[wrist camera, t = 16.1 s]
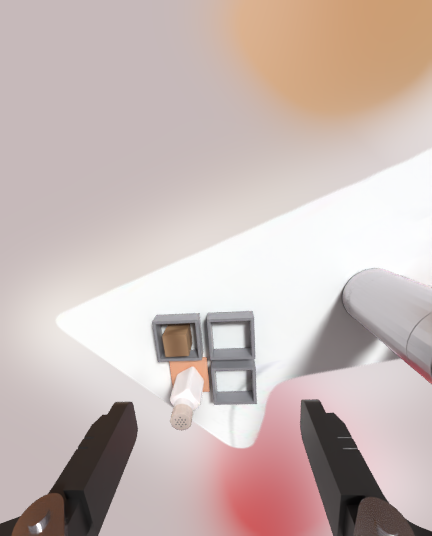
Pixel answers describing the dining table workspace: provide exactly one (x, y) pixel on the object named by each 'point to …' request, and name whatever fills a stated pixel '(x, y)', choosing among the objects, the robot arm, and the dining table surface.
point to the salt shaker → (186, 397)
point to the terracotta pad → (183, 365)
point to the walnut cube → (177, 340)
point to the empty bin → (233, 352)
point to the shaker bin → (235, 396)
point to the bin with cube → (174, 319)
